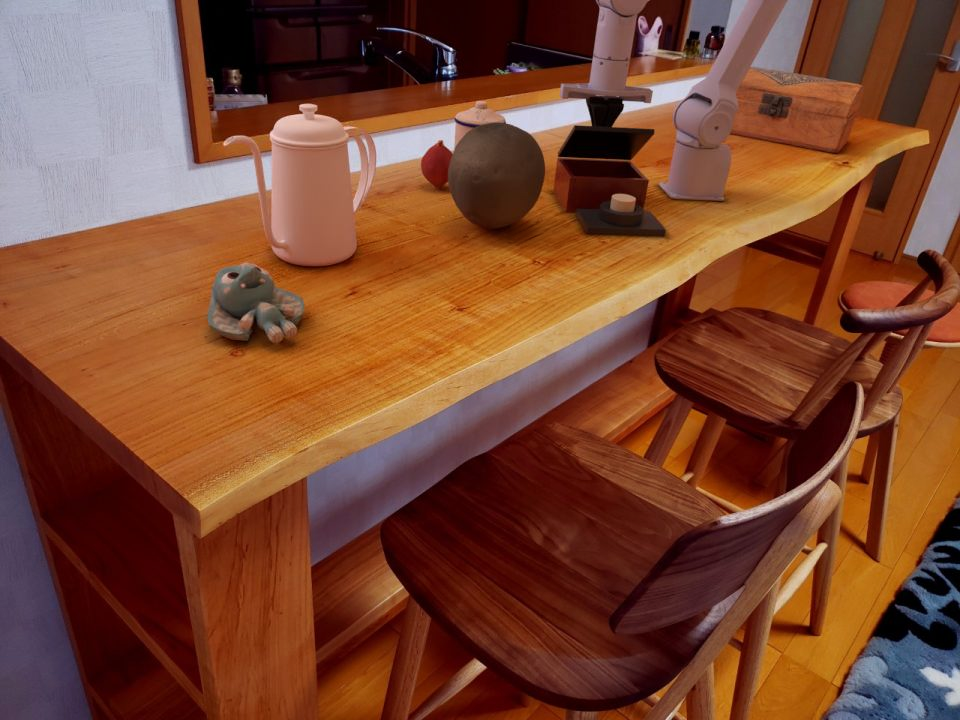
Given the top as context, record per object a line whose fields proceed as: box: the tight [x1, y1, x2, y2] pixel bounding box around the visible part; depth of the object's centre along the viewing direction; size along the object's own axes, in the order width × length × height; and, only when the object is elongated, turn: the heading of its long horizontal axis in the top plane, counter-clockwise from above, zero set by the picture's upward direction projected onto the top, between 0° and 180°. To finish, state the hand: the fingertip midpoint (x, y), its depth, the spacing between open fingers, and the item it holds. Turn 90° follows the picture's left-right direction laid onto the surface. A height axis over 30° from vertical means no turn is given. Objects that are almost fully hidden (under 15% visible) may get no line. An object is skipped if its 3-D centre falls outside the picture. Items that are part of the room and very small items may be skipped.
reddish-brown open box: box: [552, 157, 650, 214], centre depth 122 cm, size 11×13×6 cm
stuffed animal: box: [206, 261, 306, 344], centre depth 79 cm, size 11×7×12 cm
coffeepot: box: [223, 103, 377, 267], centre depth 93 cm, size 11×25×19 cm, turn 148°
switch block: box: [574, 201, 667, 238], centre depth 114 cm, size 12×8×3 cm, turn 96°
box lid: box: [557, 125, 655, 161], centre depth 120 cm, size 11×13×1 cm
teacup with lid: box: [453, 100, 507, 150], centre depth 134 cm, size 12×9×12 cm
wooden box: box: [730, 66, 865, 154], centre depth 172 cm, size 30×16×14 cm, turn 58°
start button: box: [610, 194, 636, 213], centre depth 113 cm, size 4×4×2 cm
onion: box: [420, 139, 453, 189], centre depth 123 cm, size 6×6×8 cm
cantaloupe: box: [447, 122, 546, 230], centre depth 107 cm, size 14×14×15 cm
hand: (598, 145), depth 123 cm, fingers closed
